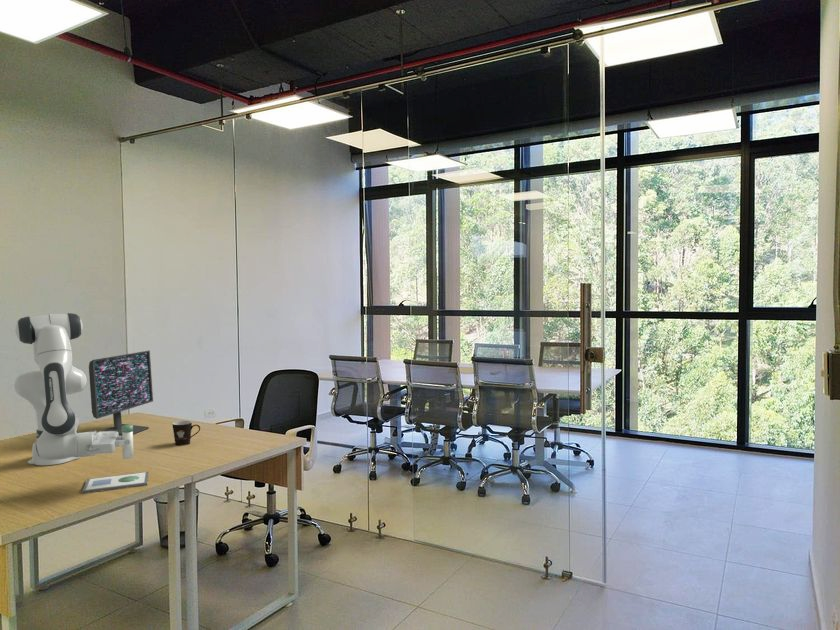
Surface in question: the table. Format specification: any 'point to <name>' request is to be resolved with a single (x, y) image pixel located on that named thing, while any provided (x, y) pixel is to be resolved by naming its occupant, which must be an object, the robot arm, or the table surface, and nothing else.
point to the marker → (128, 434)
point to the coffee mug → (183, 432)
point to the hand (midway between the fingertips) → (130, 440)
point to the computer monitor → (120, 386)
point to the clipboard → (115, 482)
